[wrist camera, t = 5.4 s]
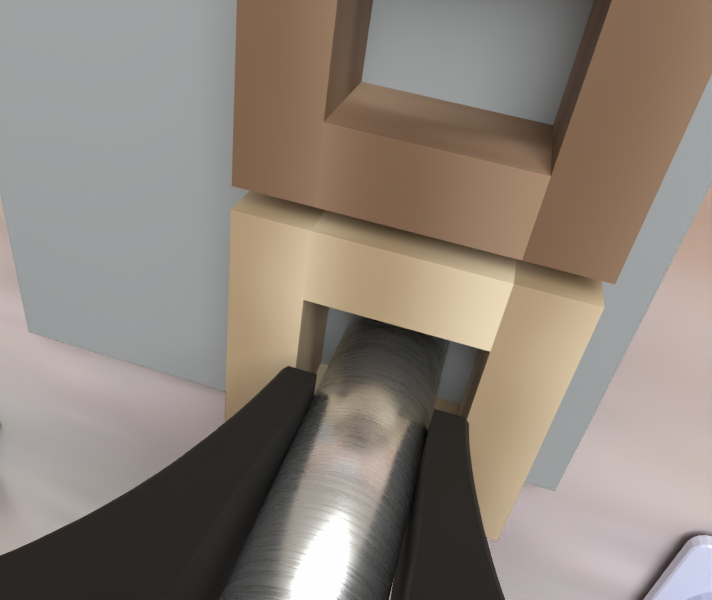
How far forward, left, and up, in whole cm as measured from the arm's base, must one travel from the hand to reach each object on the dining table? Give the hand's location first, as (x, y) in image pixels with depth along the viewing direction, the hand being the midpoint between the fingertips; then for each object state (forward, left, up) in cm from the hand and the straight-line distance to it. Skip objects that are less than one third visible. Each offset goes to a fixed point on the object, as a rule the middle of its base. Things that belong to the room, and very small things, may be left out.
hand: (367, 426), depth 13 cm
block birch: (0, 0, -3) cm, 3 cm away
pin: (0, 0, -3) cm, 3 cm away
